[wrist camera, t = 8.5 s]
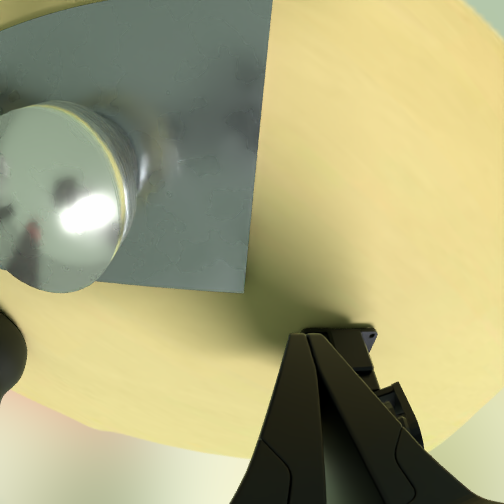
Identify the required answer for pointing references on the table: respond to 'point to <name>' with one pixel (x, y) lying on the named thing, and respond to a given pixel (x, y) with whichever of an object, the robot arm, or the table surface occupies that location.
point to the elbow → (62, 195)
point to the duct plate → (161, 121)
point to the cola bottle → (10, 355)
